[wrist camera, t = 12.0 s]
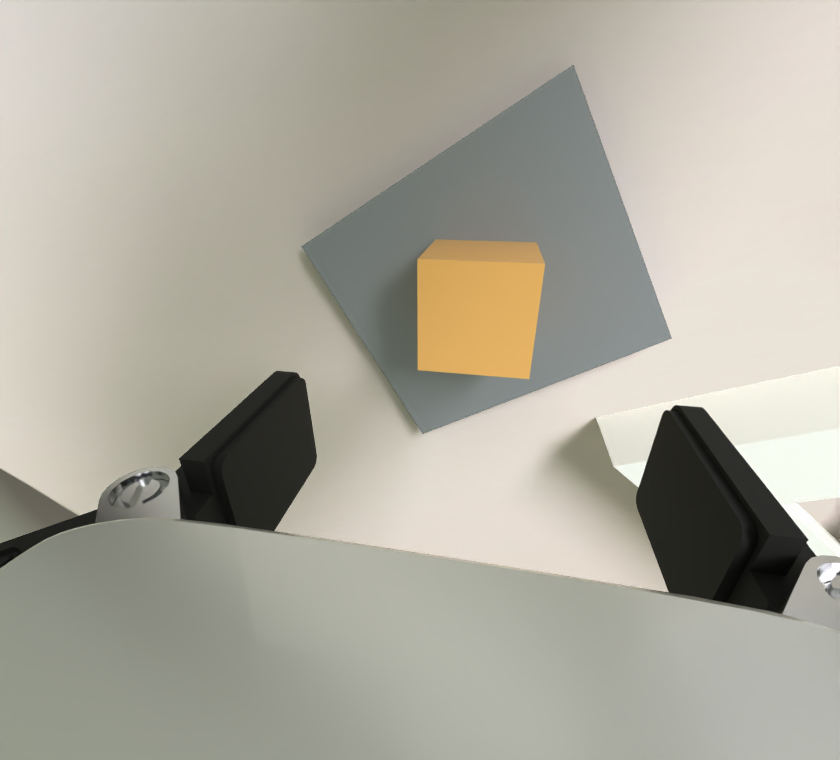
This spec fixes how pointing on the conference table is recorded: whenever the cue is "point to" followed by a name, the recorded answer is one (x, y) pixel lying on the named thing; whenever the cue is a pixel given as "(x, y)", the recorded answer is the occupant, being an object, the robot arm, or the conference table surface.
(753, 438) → the triangle block
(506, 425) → the conference table surface
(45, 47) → the conference table surface
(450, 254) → the orange cube
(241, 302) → the conference table surface
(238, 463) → the robot arm
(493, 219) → the peg board
